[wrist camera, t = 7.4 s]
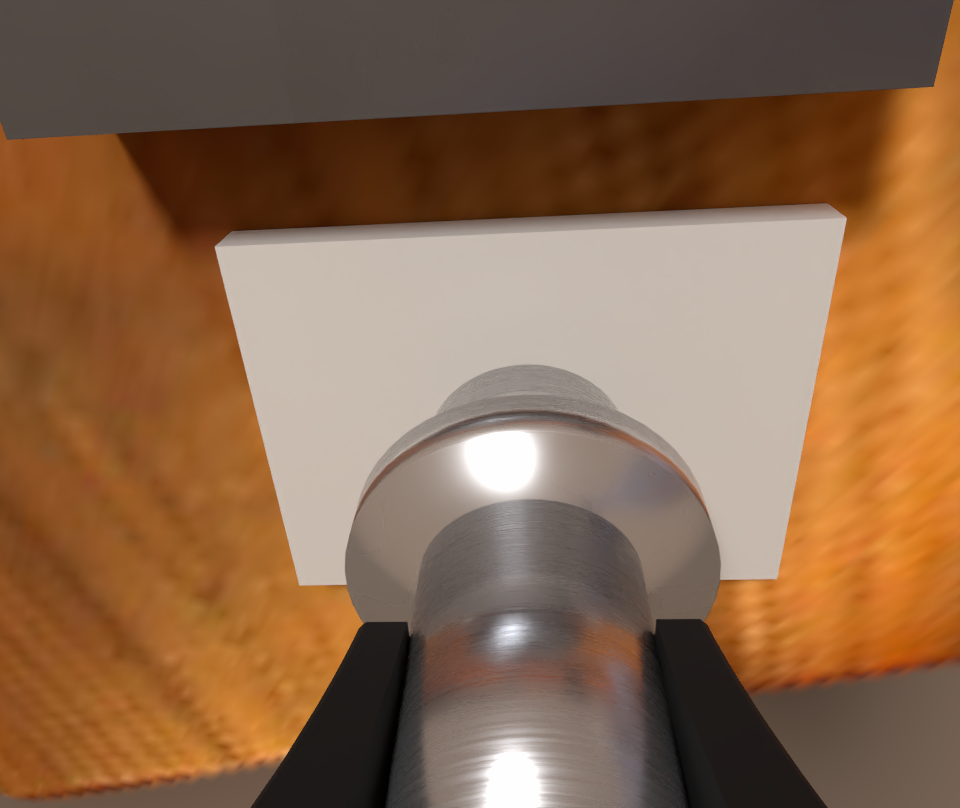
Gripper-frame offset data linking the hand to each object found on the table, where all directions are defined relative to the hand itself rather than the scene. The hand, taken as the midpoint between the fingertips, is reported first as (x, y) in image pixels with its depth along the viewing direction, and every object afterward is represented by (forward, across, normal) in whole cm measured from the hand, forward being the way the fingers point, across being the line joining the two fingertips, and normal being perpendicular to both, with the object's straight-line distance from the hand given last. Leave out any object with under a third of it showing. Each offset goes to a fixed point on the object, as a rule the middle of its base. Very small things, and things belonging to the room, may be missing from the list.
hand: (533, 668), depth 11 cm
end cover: (+5, 0, 0) cm, 5 cm away
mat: (+7, 0, 0) cm, 7 cm away
